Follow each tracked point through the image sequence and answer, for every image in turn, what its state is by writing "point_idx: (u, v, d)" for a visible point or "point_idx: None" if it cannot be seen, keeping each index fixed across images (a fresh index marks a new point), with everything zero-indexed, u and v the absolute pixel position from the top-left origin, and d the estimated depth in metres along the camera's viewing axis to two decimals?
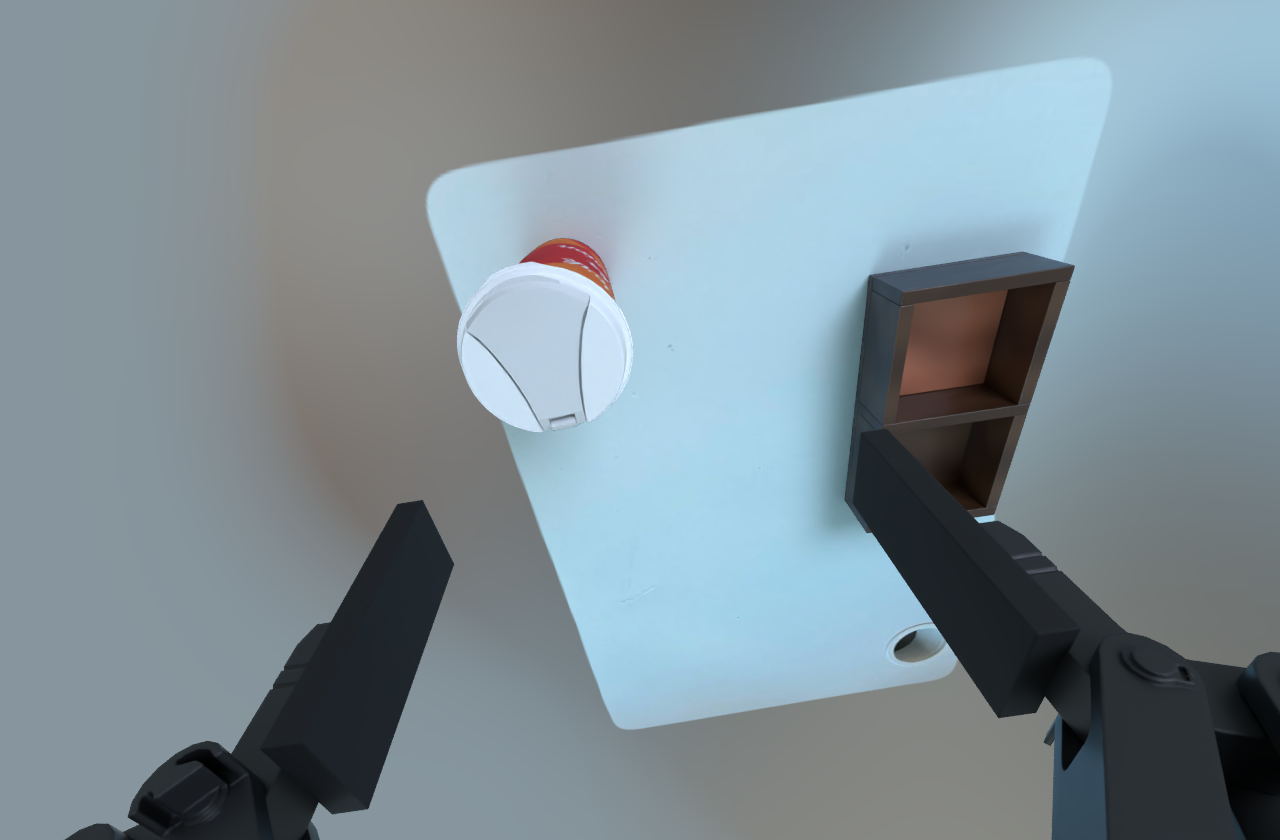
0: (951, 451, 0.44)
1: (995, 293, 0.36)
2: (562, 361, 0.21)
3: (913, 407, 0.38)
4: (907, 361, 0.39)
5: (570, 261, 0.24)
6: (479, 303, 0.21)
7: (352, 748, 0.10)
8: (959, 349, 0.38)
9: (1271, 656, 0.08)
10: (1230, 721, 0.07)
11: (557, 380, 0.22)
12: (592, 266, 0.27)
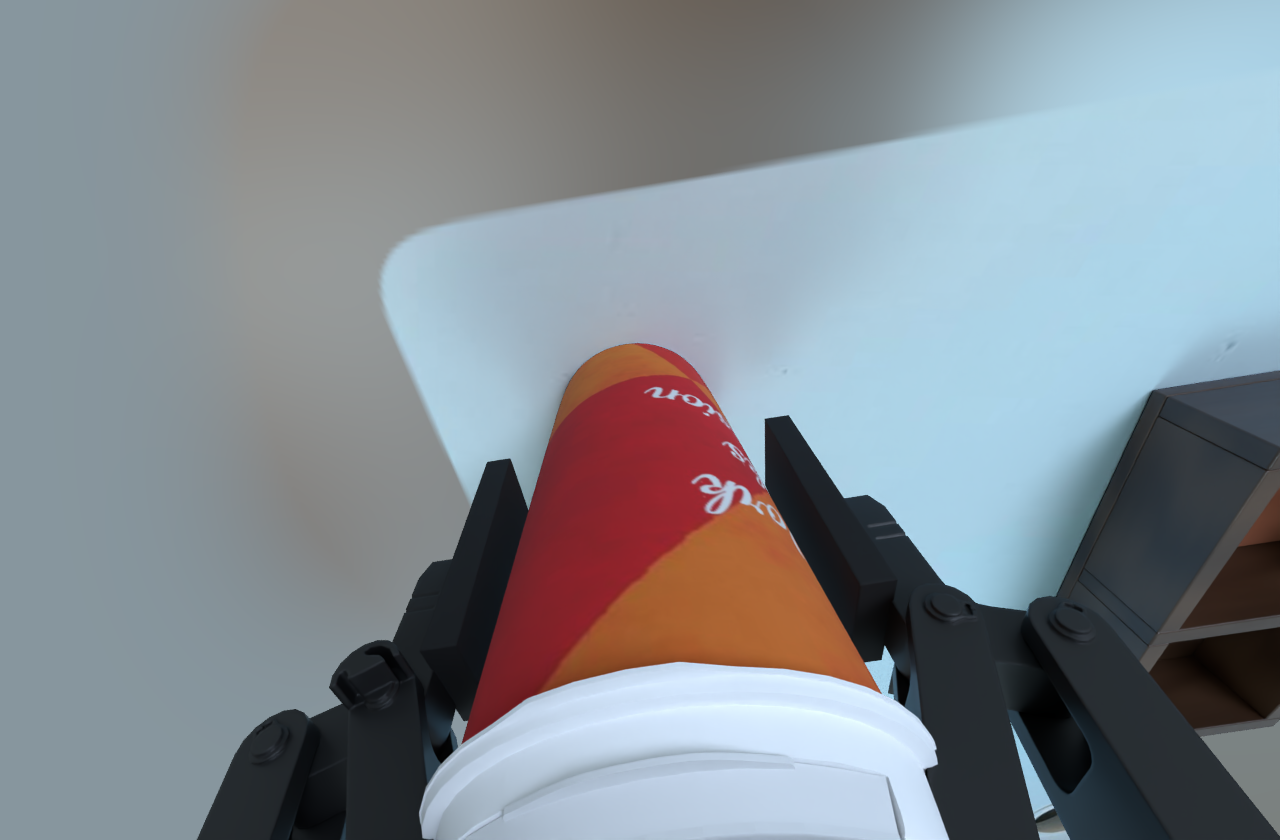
0: None
1: None
2: None
3: None
4: None
5: (716, 494, 0.10)
6: (490, 812, 0.06)
7: (483, 661, 0.11)
8: None
9: (1039, 601, 0.09)
10: (1020, 668, 0.08)
11: None
12: (740, 463, 0.12)
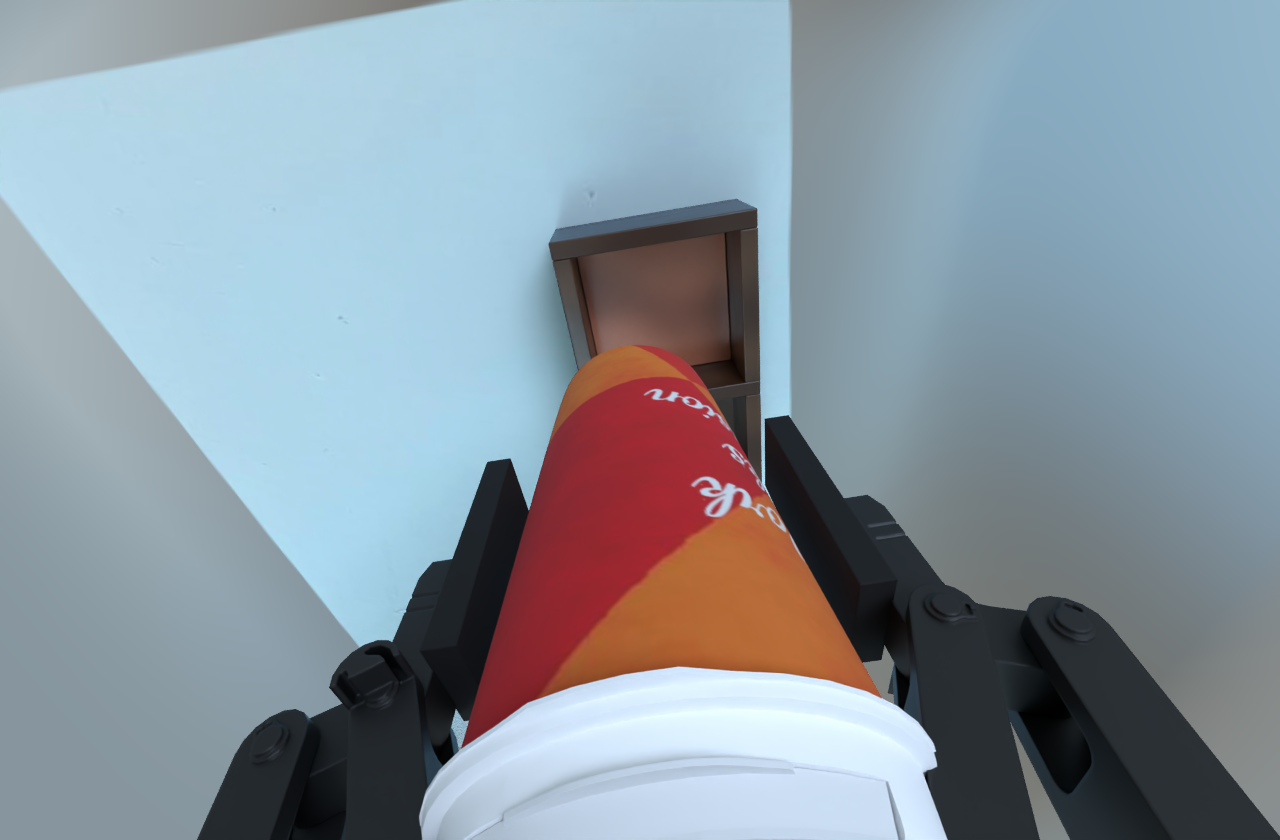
0: None
1: (710, 250, 0.30)
2: None
3: None
4: (629, 333, 0.33)
5: (716, 497, 0.10)
6: (490, 816, 0.06)
7: (484, 661, 0.11)
8: (688, 319, 0.33)
9: (1039, 601, 0.09)
10: (1020, 668, 0.08)
11: None
12: (739, 465, 0.12)
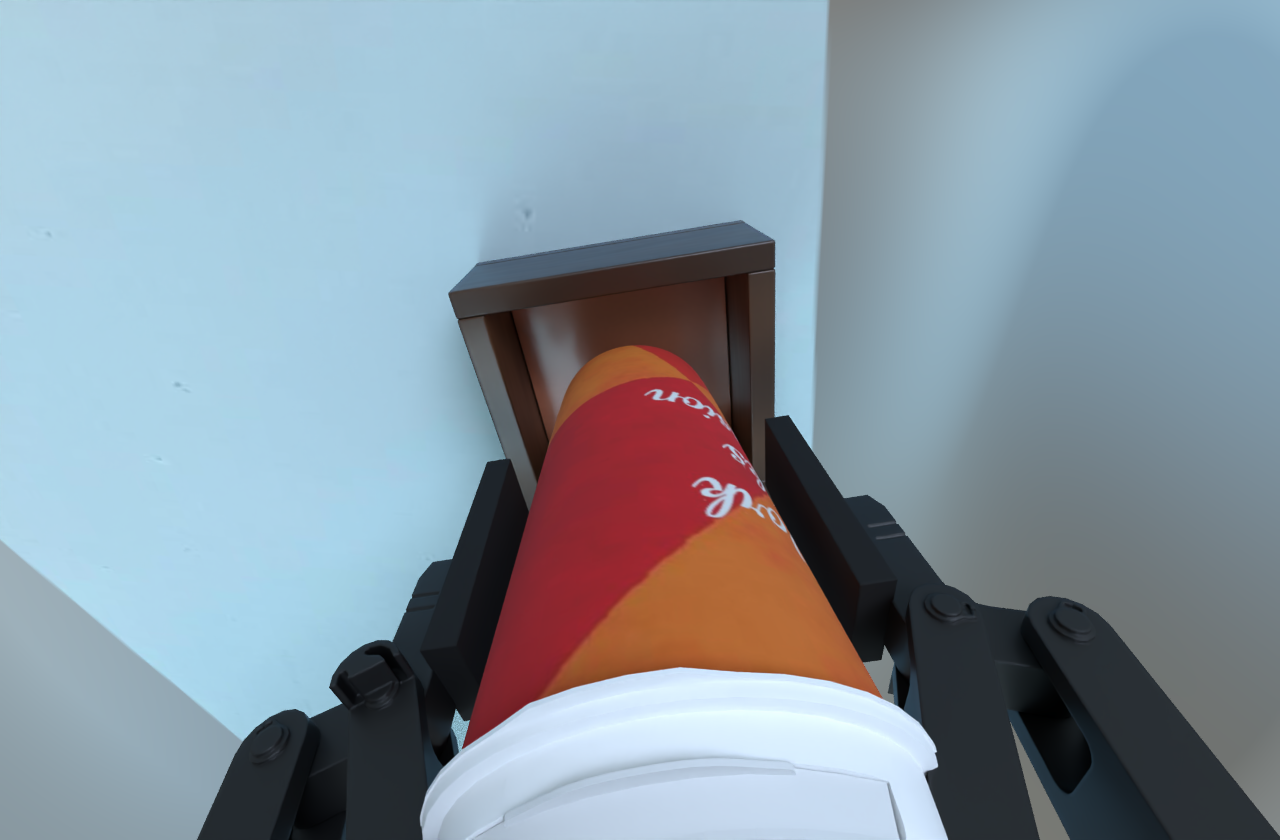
0: None
1: (704, 293, 0.21)
2: None
3: None
4: None
5: (716, 497, 0.10)
6: (491, 817, 0.06)
7: (484, 661, 0.11)
8: None
9: (1039, 601, 0.09)
10: (1020, 668, 0.08)
11: None
12: (740, 466, 0.12)
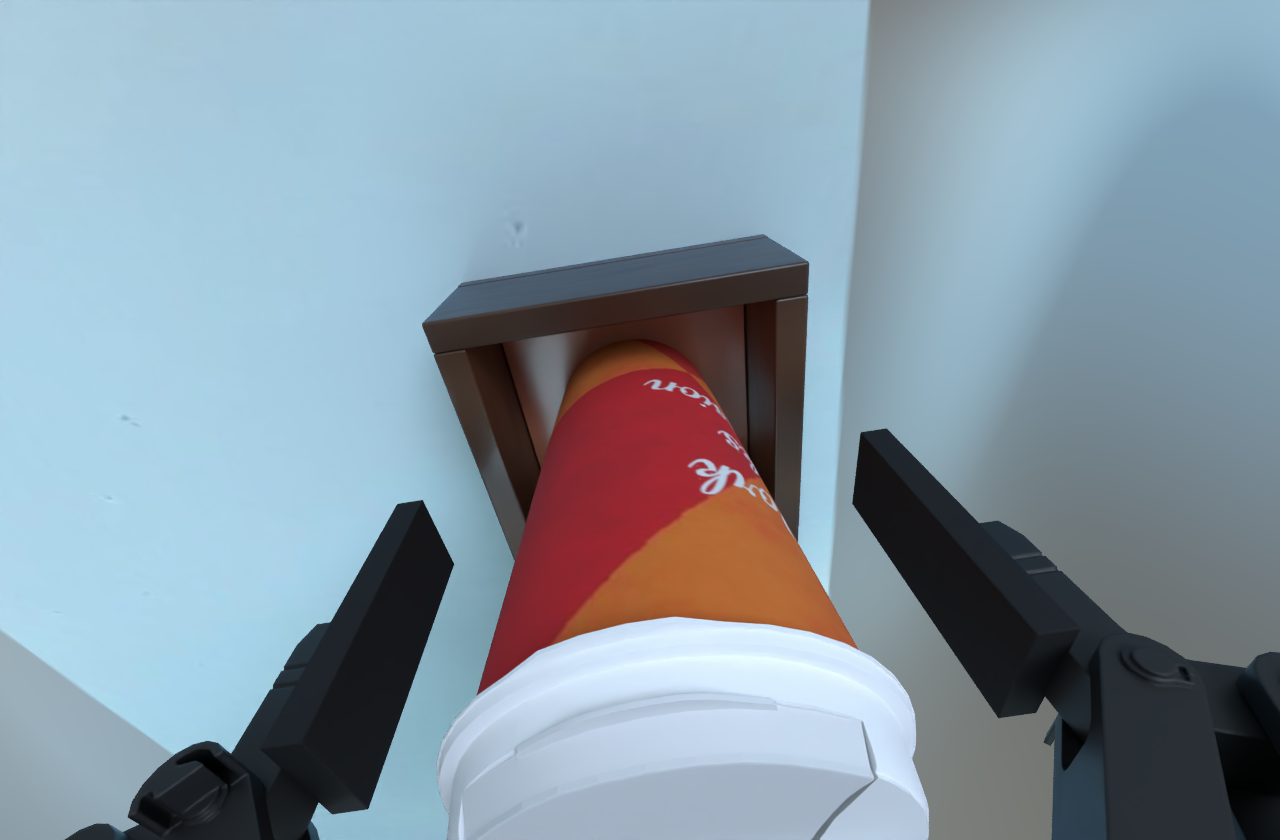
0: None
1: (720, 317, 0.18)
2: None
3: None
4: None
5: (711, 477, 0.10)
6: (504, 752, 0.06)
7: (352, 748, 0.10)
8: None
9: (1271, 656, 0.08)
10: (1230, 721, 0.07)
11: None
12: (734, 450, 0.12)
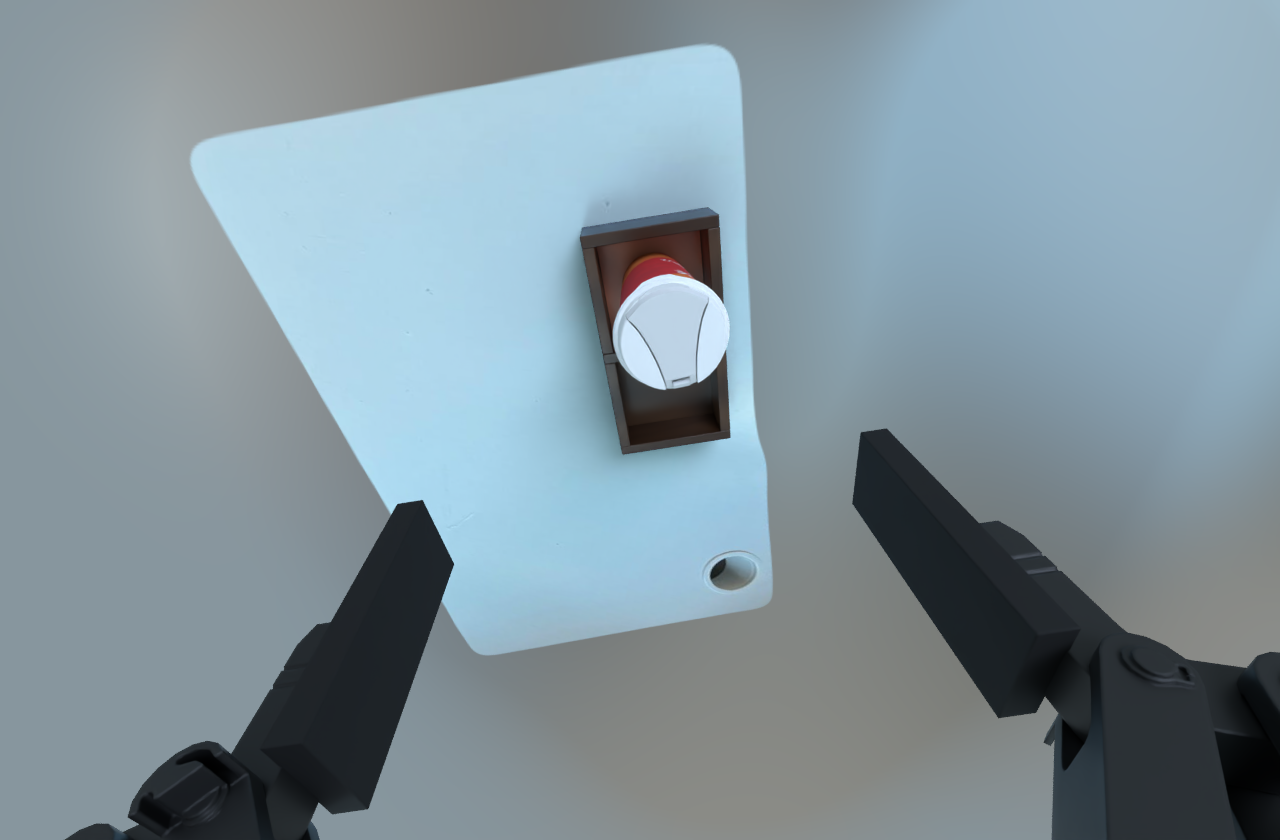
0: (699, 385, 0.51)
1: (690, 243, 0.43)
2: (686, 340, 0.32)
3: None
4: None
5: (681, 272, 0.35)
6: (635, 301, 0.31)
7: (352, 748, 0.10)
8: None
9: (1271, 656, 0.08)
10: (1231, 721, 0.07)
11: (681, 352, 0.33)
12: None
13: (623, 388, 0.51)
